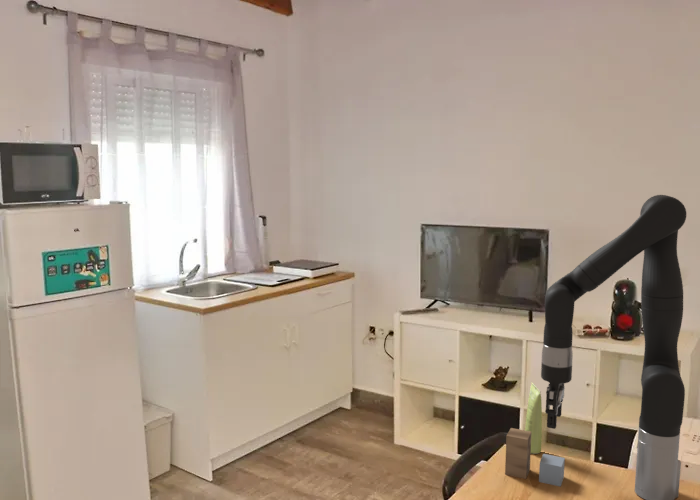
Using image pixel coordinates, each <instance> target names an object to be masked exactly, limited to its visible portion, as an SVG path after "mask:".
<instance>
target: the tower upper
mask: <svg viewBox="0 0 700 500" xmlns="http://www.w3.org/2000/svg"><path fill="white" fill-rule="evenodd" d="M505 437H506V438H505V440H506V441H505V442H506V443H505V456H506V455H508V456H512V457H517V458H522V459H527V458H528V456H529V453H530V451H531V432H530V431H525V429H524V430H523V429H519V428H513V427H510V429H509V431H508V432H507V434H506V436H505Z"/></svg>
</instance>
